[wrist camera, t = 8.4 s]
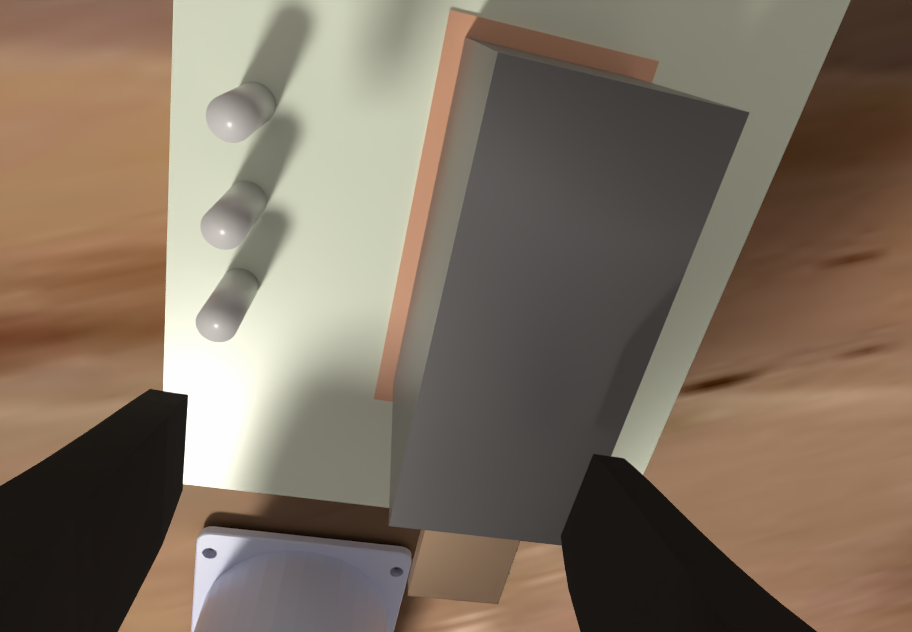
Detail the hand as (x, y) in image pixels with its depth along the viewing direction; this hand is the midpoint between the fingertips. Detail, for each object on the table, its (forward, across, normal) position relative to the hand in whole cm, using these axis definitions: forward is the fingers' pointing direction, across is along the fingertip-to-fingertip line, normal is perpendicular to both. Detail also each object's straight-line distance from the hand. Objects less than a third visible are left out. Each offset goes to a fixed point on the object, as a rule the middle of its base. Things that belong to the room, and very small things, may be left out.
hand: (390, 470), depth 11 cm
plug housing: (+8, -3, -1) cm, 8 cm away
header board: (+9, -2, -1) cm, 9 cm away
